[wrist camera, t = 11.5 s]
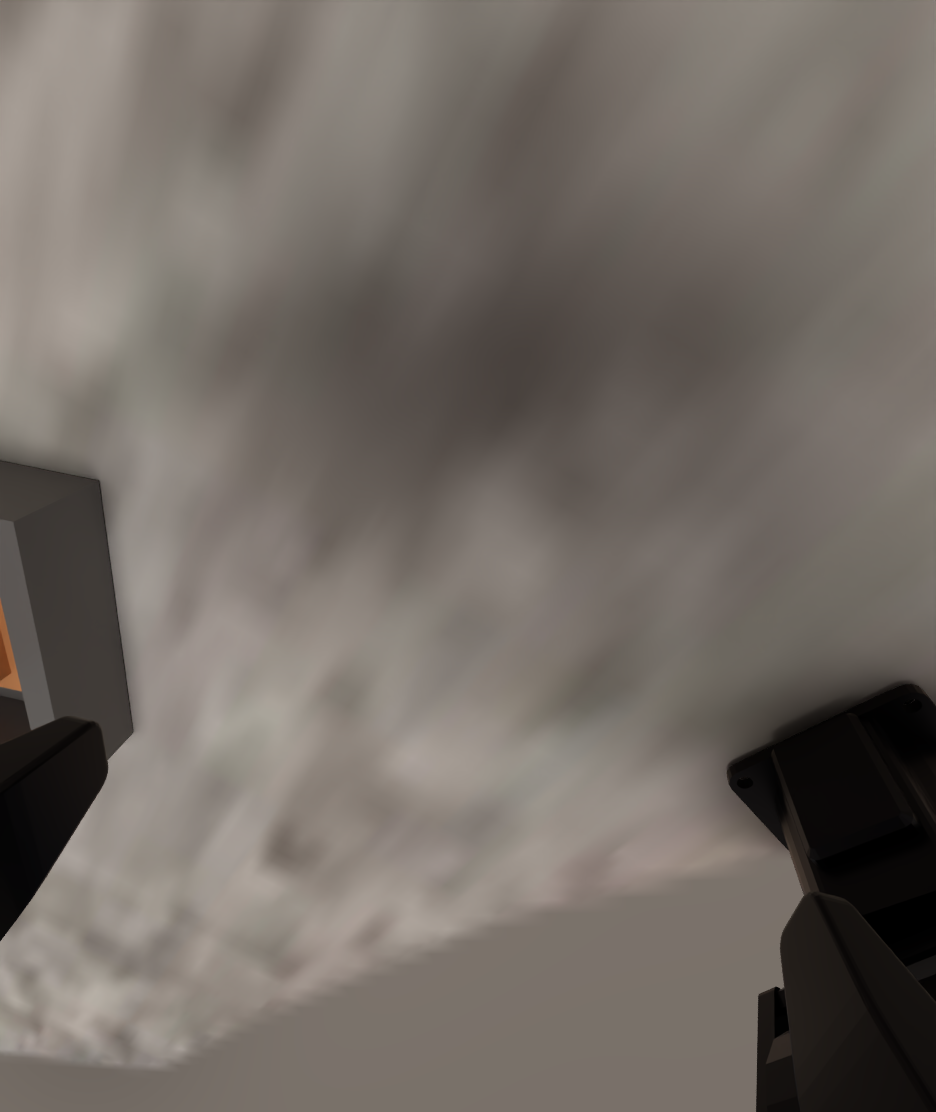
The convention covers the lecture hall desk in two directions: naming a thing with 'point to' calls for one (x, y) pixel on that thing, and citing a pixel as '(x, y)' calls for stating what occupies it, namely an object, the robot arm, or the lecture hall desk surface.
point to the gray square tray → (59, 605)
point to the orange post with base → (7, 658)
